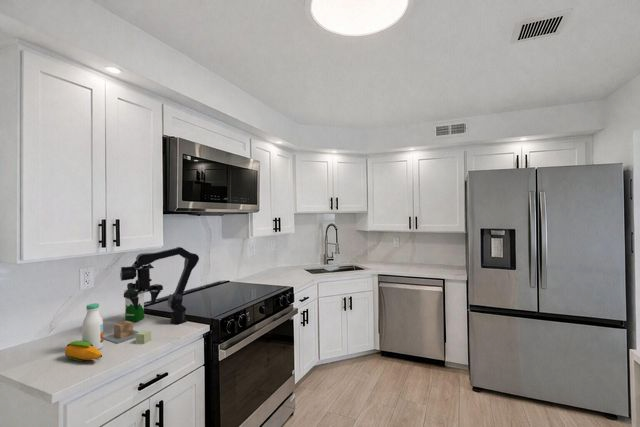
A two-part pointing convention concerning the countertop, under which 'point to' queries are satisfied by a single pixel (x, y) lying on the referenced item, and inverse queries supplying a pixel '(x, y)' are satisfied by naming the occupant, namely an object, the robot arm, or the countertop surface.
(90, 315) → the milk bottle
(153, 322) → the countertop surface
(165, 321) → the countertop surface
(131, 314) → the milk carton
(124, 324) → the walnut cube
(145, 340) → the olive block
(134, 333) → the slate coaster
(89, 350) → the corn
